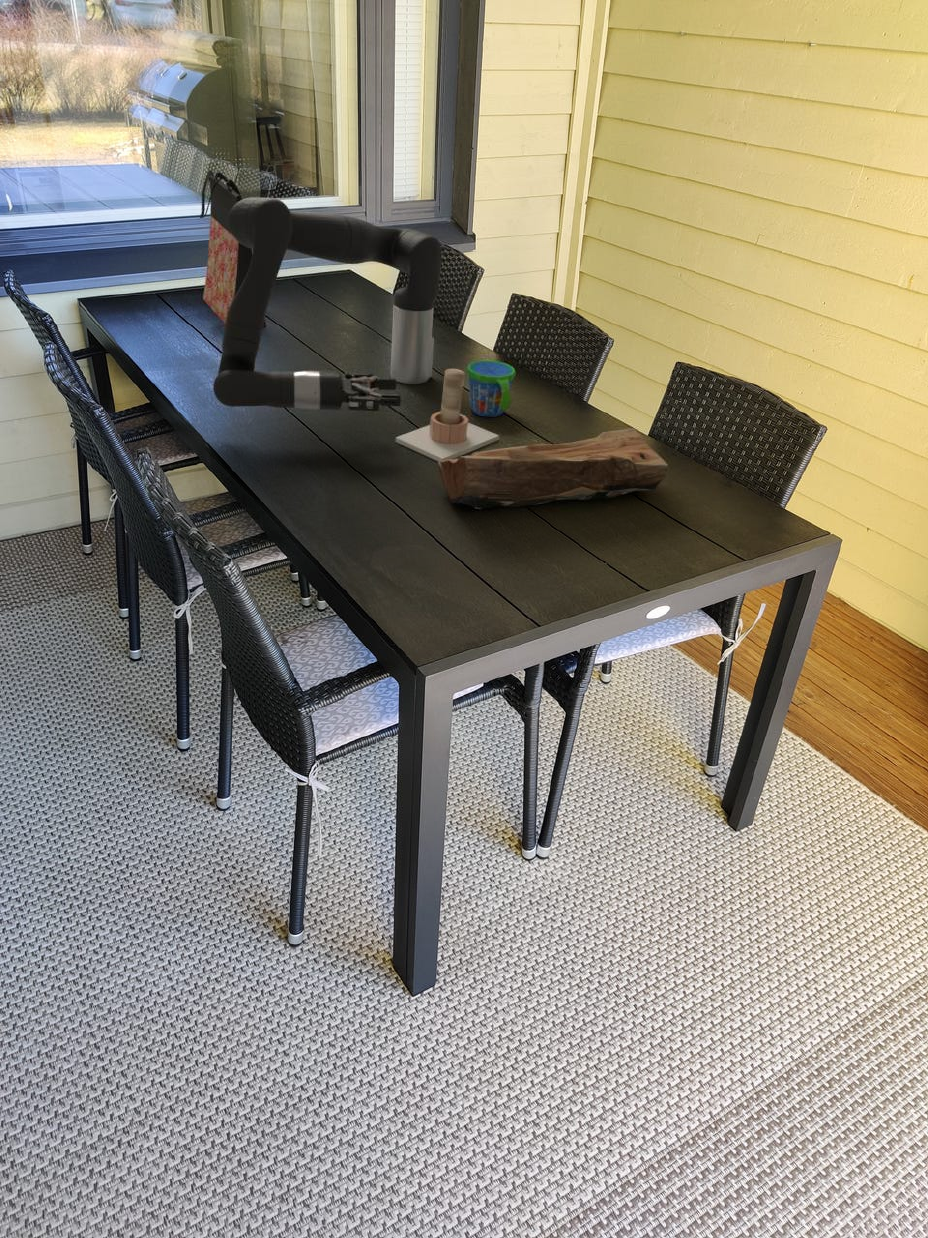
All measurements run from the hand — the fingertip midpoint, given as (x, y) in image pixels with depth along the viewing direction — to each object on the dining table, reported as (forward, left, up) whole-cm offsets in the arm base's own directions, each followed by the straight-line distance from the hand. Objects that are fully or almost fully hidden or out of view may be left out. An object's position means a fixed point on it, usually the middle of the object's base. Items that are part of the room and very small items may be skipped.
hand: (398, 392), depth 198 cm
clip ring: (-8, +7, -9) cm, 14 cm away
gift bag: (-23, -83, -11) cm, 87 cm away
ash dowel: (-8, +7, -9) cm, 14 cm away
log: (-5, +36, -11) cm, 38 cm away
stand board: (-8, +7, -10) cm, 15 cm away
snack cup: (-27, +2, -11) cm, 30 cm away
